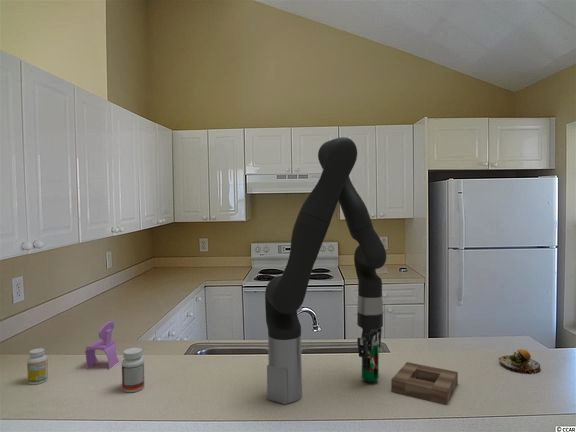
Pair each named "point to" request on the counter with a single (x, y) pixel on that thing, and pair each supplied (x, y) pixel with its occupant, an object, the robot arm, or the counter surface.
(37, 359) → the supplement bottle
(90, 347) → the toy chair
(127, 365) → the pill bottle
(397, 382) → the socket block
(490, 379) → the counter surface
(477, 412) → the counter surface
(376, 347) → the soda can
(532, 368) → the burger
